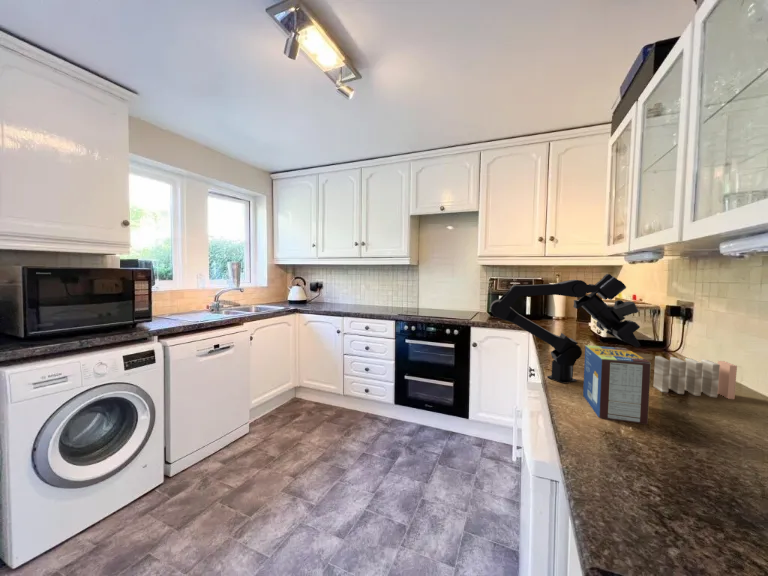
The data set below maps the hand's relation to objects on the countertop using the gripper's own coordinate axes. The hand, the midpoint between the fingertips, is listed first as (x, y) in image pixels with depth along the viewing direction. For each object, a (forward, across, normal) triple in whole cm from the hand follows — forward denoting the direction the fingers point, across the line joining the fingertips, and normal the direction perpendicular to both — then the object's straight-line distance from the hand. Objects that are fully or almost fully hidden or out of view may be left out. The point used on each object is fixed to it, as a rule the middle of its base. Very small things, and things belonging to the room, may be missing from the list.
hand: (636, 345), depth 101 cm
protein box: (0, -21, +19) cm, 29 cm away
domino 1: (+15, 0, +5) cm, 15 cm away
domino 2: (+18, 0, +2) cm, 18 cm away
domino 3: (+20, 0, -1) cm, 20 cm away
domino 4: (+23, 0, -4) cm, 23 cm away
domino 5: (+26, 0, -7) cm, 27 cm away
